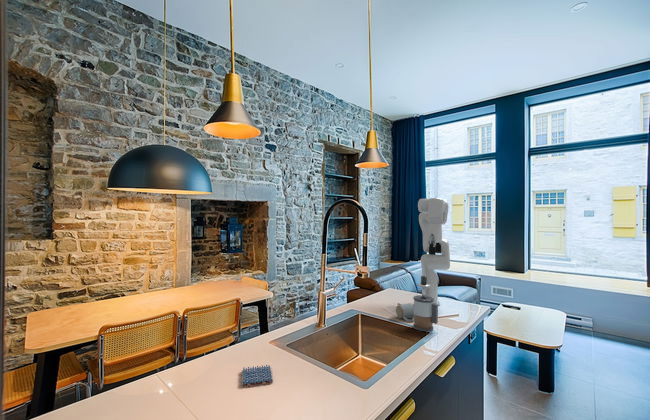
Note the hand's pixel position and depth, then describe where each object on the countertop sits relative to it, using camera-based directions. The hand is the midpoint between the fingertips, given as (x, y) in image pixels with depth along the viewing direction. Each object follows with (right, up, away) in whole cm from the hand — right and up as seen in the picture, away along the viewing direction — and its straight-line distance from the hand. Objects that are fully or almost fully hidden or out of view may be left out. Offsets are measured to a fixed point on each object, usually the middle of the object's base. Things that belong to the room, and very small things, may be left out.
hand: (435, 253), depth 155 cm
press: (-9, -36, -8) cm, 38 cm away
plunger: (-9, -23, -8) cm, 26 cm away
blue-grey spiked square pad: (-82, -35, -55) cm, 104 cm away
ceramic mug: (-14, -37, +5) cm, 39 cm away
